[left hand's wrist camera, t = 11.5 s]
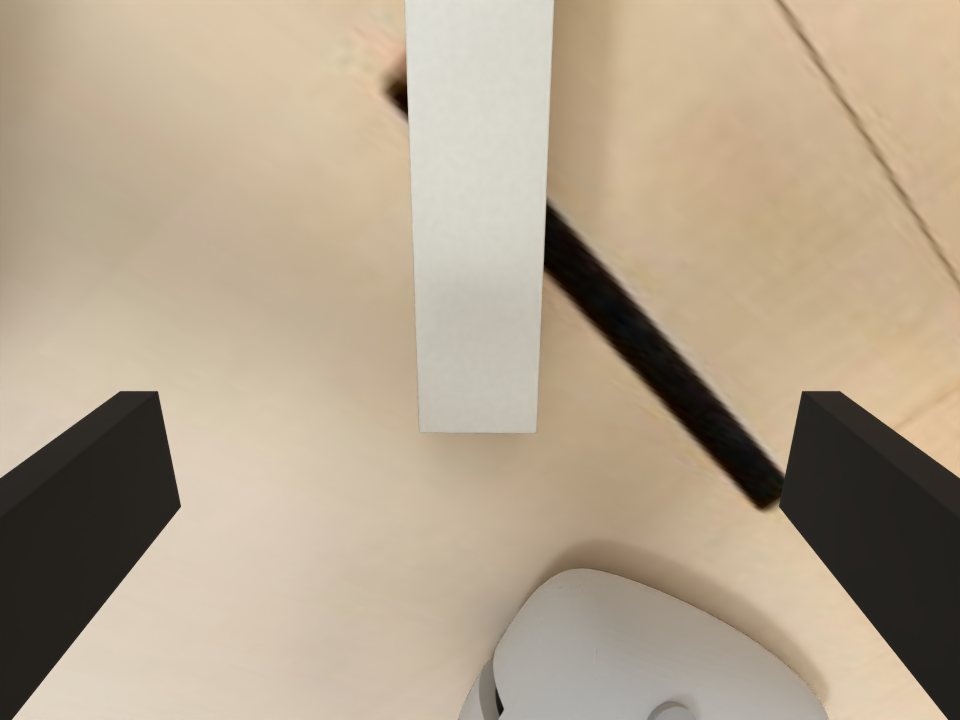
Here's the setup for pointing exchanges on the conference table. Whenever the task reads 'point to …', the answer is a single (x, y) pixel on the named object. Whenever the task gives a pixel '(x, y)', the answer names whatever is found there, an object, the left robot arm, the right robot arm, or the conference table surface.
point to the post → (478, 207)
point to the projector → (630, 661)
